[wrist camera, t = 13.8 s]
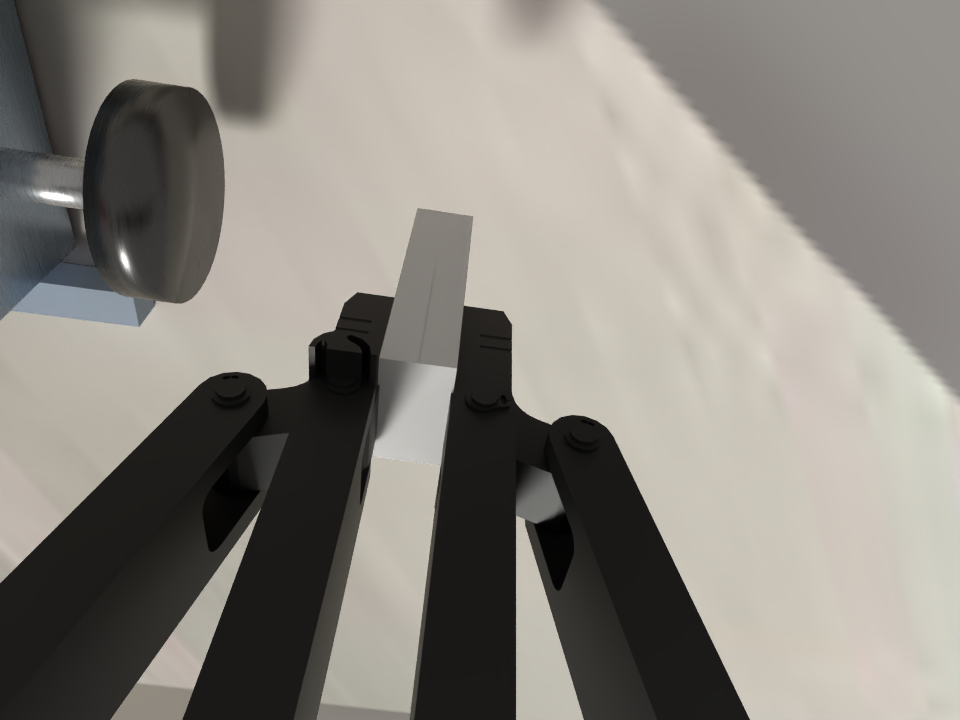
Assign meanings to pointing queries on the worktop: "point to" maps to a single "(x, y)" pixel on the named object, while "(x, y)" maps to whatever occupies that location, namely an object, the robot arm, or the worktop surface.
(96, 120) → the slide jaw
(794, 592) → the worktop surface
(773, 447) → the worktop surface
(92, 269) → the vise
